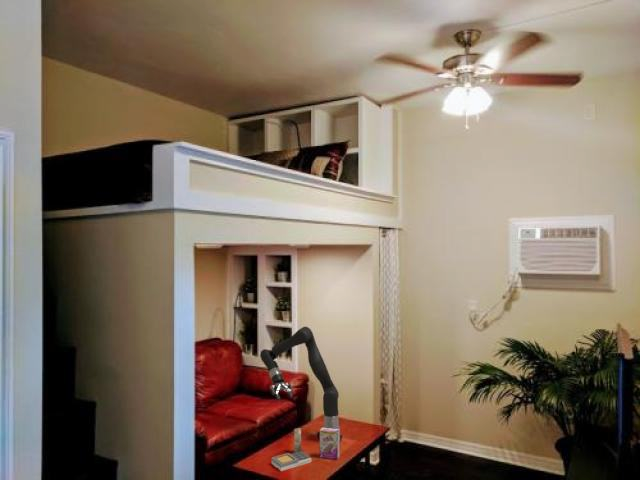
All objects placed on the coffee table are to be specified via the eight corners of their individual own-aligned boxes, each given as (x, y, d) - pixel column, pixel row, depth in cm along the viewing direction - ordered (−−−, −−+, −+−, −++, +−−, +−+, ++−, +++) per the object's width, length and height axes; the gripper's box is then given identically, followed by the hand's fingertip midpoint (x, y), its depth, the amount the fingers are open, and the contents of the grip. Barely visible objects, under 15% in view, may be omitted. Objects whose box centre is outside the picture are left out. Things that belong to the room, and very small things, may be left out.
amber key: (287, 457, 285) (287, 455, 285) (293, 461, 279) (293, 459, 279) (276, 460, 281) (276, 458, 281) (282, 465, 275) (282, 462, 275)
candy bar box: (319, 458, 288) (318, 430, 288) (321, 454, 293) (321, 427, 293) (337, 460, 285) (337, 431, 285) (339, 456, 290) (339, 428, 290)
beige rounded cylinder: (299, 450, 300) (299, 427, 300) (304, 453, 295) (303, 429, 295) (291, 452, 297) (291, 429, 297) (296, 455, 292) (295, 432, 292)
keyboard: (301, 455, 292) (301, 449, 292) (311, 461, 283) (311, 455, 283) (271, 463, 281) (271, 457, 281) (281, 471, 272) (281, 464, 272)
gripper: (268, 375, 311) (277, 397, 302) (287, 371, 319) (297, 393, 310) (264, 381, 316) (273, 404, 306) (284, 377, 324) (293, 399, 314)
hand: (285, 398), depth 308 cm, fingers open, 8 cm apart
